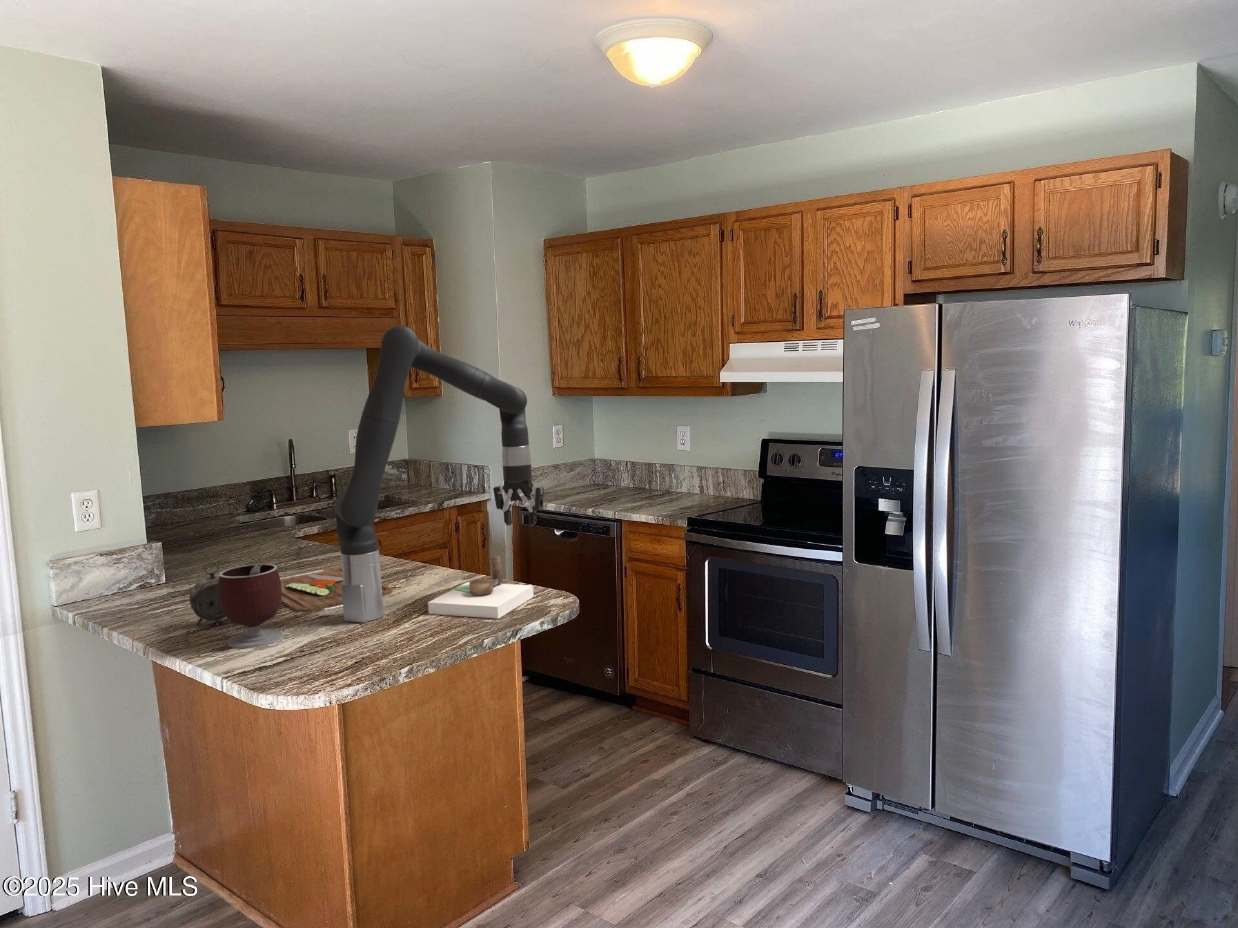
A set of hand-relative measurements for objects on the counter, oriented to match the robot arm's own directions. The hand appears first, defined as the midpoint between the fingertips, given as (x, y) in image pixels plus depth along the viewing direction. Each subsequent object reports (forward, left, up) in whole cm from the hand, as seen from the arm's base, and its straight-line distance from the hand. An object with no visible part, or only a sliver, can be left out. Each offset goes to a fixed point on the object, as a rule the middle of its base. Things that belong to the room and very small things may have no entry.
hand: (520, 525), depth 240 cm
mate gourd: (-47, +48, -20) cm, 70 cm away
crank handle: (-5, +8, -16) cm, 19 cm away
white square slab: (-9, +8, -20) cm, 23 cm away
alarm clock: (-38, +69, -20) cm, 81 cm away
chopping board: (-4, +63, -20) cm, 66 cm away
